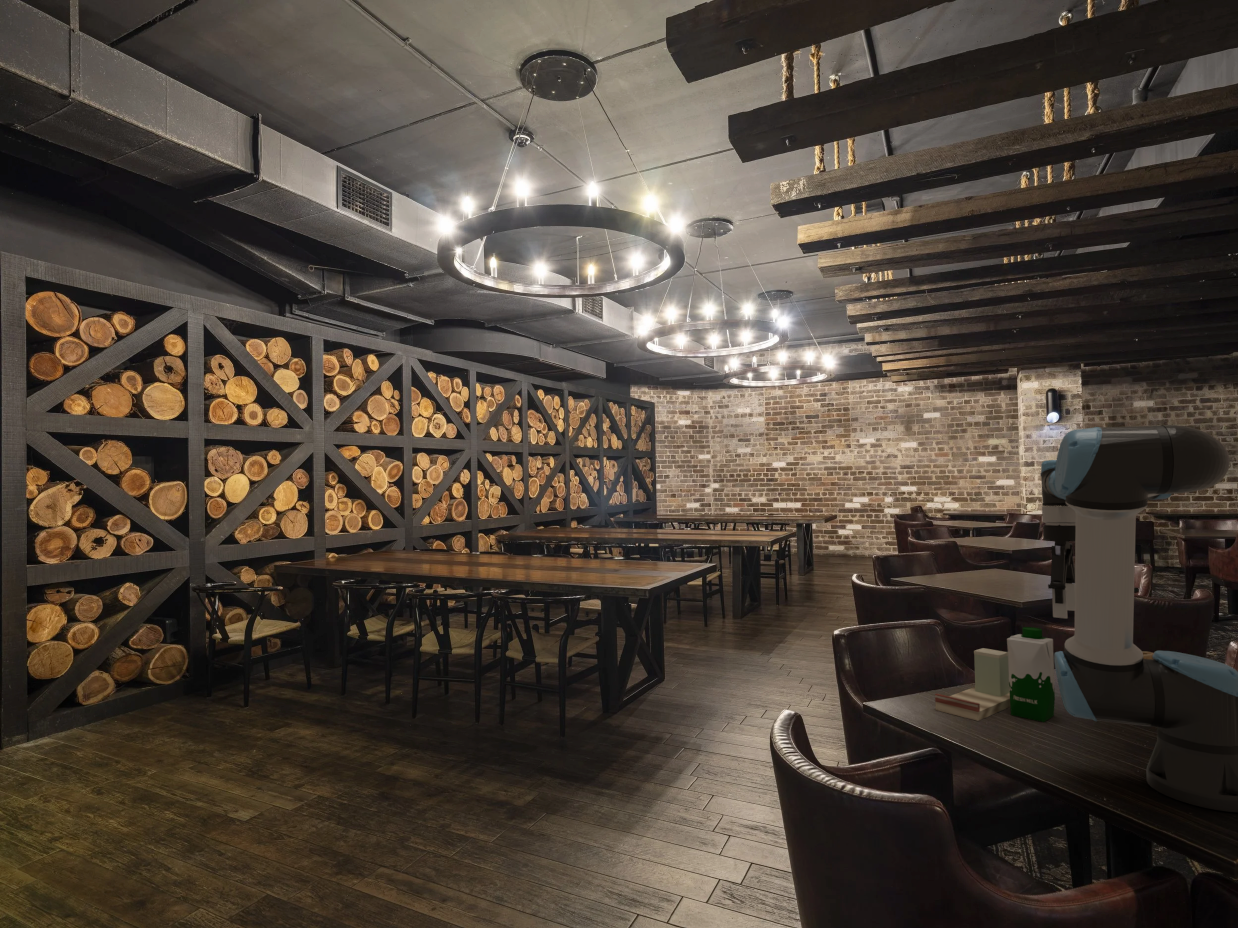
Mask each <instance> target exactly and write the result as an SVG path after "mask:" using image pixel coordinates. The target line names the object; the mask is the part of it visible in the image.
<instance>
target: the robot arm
mask: <svg viewBox="0 0 1238 928" xmlns="http://www.w3.org/2000/svg"><path fill="white" fill-rule="evenodd" d="M1230 461H1231V460H1230V455H1229V452H1228V450H1227V449H1226V447H1225V445H1224V444H1223V443H1222V442H1221V441H1220V440H1219V439H1217V438H1216V437H1214V436H1213V435H1212V434H1210V433H1207V432H1206V431H1204V430H1201V429H1198V428H1194V427H1190V426H1186V425H1185V426H1184V425H1179V424H1178V425H1177V424H1160V425H1142V426H1141V425H1139V426H1137V425H1136V426H1135V425H1133V426H1106V427H1105V426H1103V427H1102V426H1100V427H1099V426H1094V427H1088V428H1087V427H1086V428H1080V429H1079V428H1077V429H1073V430H1070V431H1068V432H1067V433H1066V434H1065V435H1064V436H1063V438H1062V440H1061V442H1060V445H1059V447H1058V451H1057V456H1056V459H1051V460H1047V459H1046V460H1043V461H1042V463H1041V464H1040V465H1041V466H1040V473H1039V475H1040V479H1041V481H1040V483H1041V495H1042V497H1041V498H1042V500H1041V501H1042V503H1041V504H1042V506H1041V519H1042V521H1041V522H1043V523H1045V524H1044V525H1043V526H1042V536H1043V537H1042V538H1043V539H1044V541H1049V542H1054V545H1051V547H1050V548H1051V564H1050V565H1051V569H1050V583H1048V584H1047V588H1048V589H1049V590H1051V593H1052V595H1051V596H1052V617H1053V618H1055V619H1056V618H1059V619H1068V618H1069V617H1068V611H1074V634H1073V636H1071V637H1069V638H1067V639H1066V640H1065V642H1064V651H1061V650H1059V651H1056V652H1054V653H1053V658H1054V670H1055V674H1056V680H1057V685H1058V688H1059V693H1060V696H1061V701H1062V704H1063V706H1064V709H1065V710H1066V712H1067V713H1068V714H1069V715H1071V716H1073V717H1074V718H1079V719H1080V718H1081V719H1086V720H1087V719H1088V720H1093V722H1098V721H1101V722H1108V723H1118V724H1127V725H1133V726H1134V725H1135V726H1143V727H1154V728H1156V738H1157V739H1156V742H1155V746H1154V748H1153V750H1152V753H1151V755H1150V758H1149V760H1148V763H1147V766H1146V782H1147V784H1148V785H1149V786H1150V787H1151V788H1152V789H1153V790H1155V791H1157V792H1158V793H1159V794H1162V795H1164V796H1166V797H1169V798H1171V799H1174V800H1176V801H1180V802H1182V803H1186V804H1188V805H1191V806H1197V807H1200V808H1204V809H1208V810H1209V809H1210V810H1215V811H1221V812H1227V813H1229V812H1230V813H1238V671H1237V670H1236V669H1235V668H1234V667H1232V666H1230V665H1229V664H1225V663H1223V662H1220V661H1217V660H1213V659H1210V658H1206V657H1204V656H1203V657H1201V656H1198V655H1194V654H1188V653H1184V652H1183V653H1182V652H1177V651H1170V650H1156V651H1154V652H1153V653H1154V654H1153V656H1152V658H1153V659H1143V653H1142V649H1141V648H1139V647H1138V646H1137V645H1136V644H1134V614H1135V613H1134V610H1135V609H1134V606H1135V569H1136V567H1135V565H1136V564H1135V563H1136V562H1135V561H1136V528H1137V527H1136V525H1137V523H1136V521H1137V520H1136V519H1137V515H1138V514H1139V513H1141V512H1143V510H1145V509H1146V508H1148V501H1156V500H1166V499H1168V498H1171V496H1172V495H1174V494H1185V493H1191V492H1192V493H1193V492H1198V491H1203V490H1206V489H1209V488H1212V487H1213V486H1215V485H1217V484H1218V483H1220V482H1221V481H1222V480H1223V479H1224V477H1226V475H1227V473H1228V472H1229V468H1230V464H1231V463H1230ZM1072 542H1074V543H1075V544H1074V546H1075V547H1074V546H1073V543H1072ZM1073 547H1074V548H1073ZM1074 549H1075V551H1074ZM1074 553H1075V554H1074ZM1074 557H1075V559H1074ZM1074 561H1075V562H1074Z"/></svg>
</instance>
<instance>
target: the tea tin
mask: <svg viewBox="0 0 1238 928" xmlns="http://www.w3.org/2000/svg"><path fill="white" fill-rule="evenodd" d="M973 654H974V657H973V658H974V683H975V685H974V687H975V691H976V692H981V693H985V694H990V695H994V696H999V697H1001V696H1004V695H1006V694H1009V693H1010V692H1009V667H1008V651H1002V650H997V649H990V648H984V647H982V648H979V649H976V650H973Z"/></svg>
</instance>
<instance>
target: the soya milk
mask: <svg viewBox="0 0 1238 928" xmlns="http://www.w3.org/2000/svg"><path fill="white" fill-rule="evenodd" d="M1006 644H1007V645H1006V646H1007V652H1008V673H1009V693H1010V707H1009V708H1010V715H1011V716H1014V717H1018V718H1022V719H1023V718H1024V719H1028V720H1033V721H1037V722H1041V723H1046V722H1047V721H1049V720H1050V719H1051V718H1053V717H1054V716H1055V704H1056V703H1055V702H1056V701H1055V700H1056V696H1055V695H1056V692H1055V686H1056V685H1055V662H1054V639H1053V638H1048V637H1044V636H1043V629H1041V628H1040V627H1032V626H1024V627H1022V634H1021V633H1019V634H1018V633H1017V634H1015V635H1011V636H1010V637H1008V638H1006Z"/></svg>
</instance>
